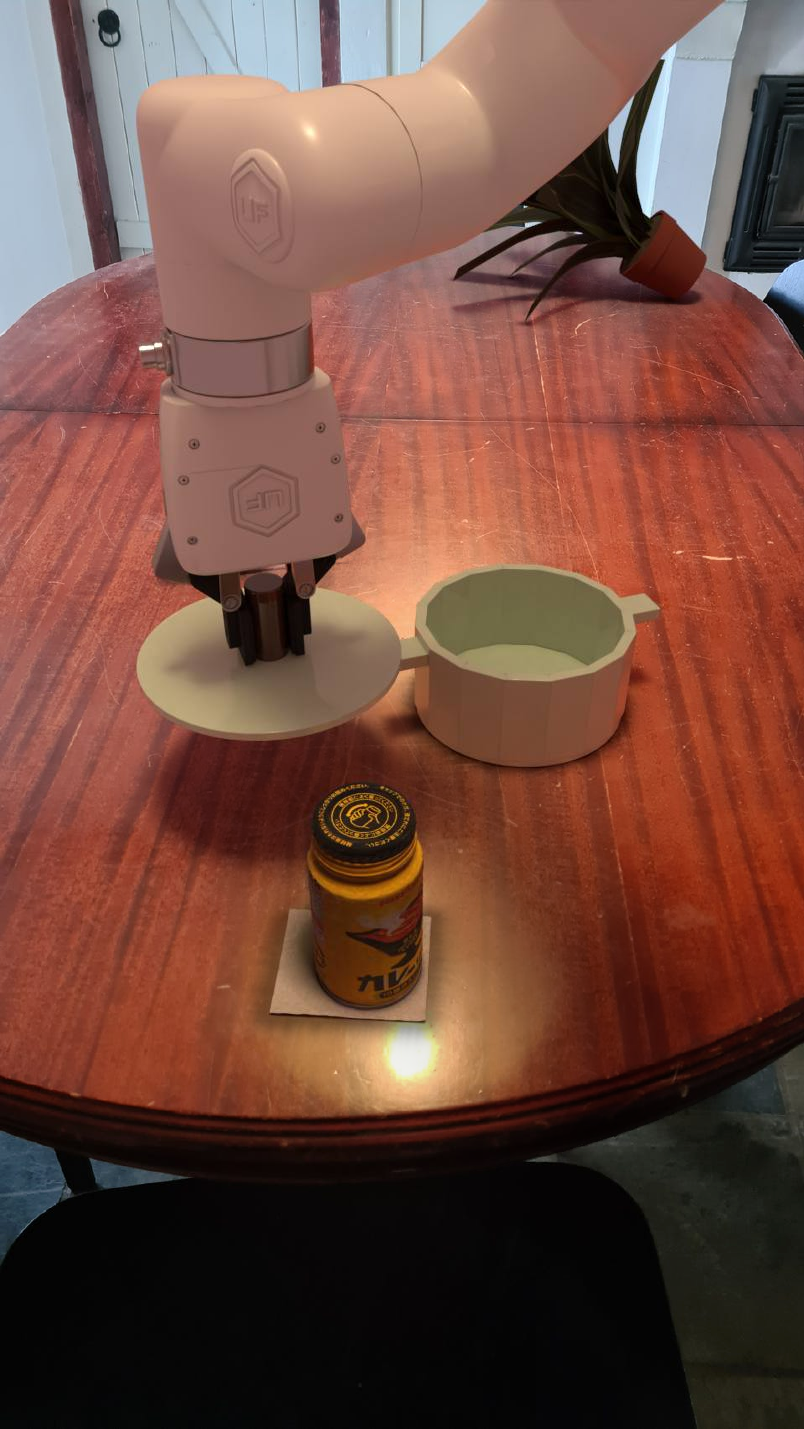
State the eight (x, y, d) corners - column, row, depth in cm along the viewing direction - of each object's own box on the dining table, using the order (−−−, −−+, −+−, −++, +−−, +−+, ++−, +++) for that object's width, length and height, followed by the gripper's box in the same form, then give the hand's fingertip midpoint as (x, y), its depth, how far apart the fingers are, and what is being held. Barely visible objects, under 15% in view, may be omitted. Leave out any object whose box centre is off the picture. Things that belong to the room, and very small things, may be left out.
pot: (693, 733, 75) (711, 647, 71) (422, 796, 70) (423, 708, 65) (594, 624, 87) (604, 545, 83) (356, 671, 82) (352, 589, 77)
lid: (439, 716, 62) (441, 628, 58) (159, 775, 57) (142, 685, 54) (358, 582, 74) (355, 503, 70) (123, 623, 70) (107, 541, 66)
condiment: (425, 1022, 56) (427, 865, 48) (269, 1014, 56) (248, 857, 49) (431, 919, 61) (434, 765, 54) (290, 912, 62) (273, 758, 55)
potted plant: (737, 137, 170) (525, -31, 158) (862, 94, 134) (599, -127, 122) (585, 383, 182) (377, 245, 170) (662, 404, 146) (405, 231, 134)
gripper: (90, 398, 49) (149, 708, 60) (411, 360, 53) (410, 657, 64) (76, 349, 55) (133, 641, 66) (367, 318, 59) (374, 598, 70)
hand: (269, 646), depth 65 cm, fingers closed on lid, 2 cm apart
